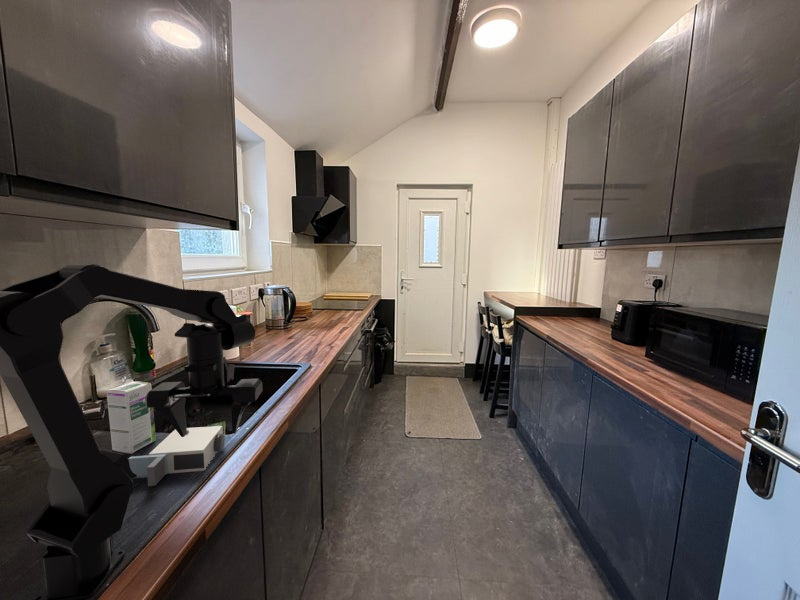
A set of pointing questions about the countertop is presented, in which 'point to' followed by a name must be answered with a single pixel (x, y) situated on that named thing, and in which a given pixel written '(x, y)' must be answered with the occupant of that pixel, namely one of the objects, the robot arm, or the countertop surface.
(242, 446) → the countertop surface
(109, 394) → the syrup box
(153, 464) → the grey l-shaped block
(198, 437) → the camera housing
